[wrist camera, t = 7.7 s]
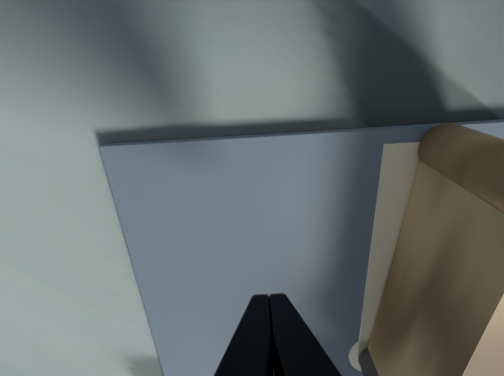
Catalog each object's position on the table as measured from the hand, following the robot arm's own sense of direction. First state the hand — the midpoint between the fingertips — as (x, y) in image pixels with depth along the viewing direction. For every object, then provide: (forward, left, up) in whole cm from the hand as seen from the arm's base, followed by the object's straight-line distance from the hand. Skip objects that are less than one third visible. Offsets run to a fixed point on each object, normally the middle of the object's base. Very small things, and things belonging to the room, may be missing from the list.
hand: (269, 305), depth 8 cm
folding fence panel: (-6, +2, -4) cm, 7 cm away
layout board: (-5, +4, -4) cm, 8 cm away
